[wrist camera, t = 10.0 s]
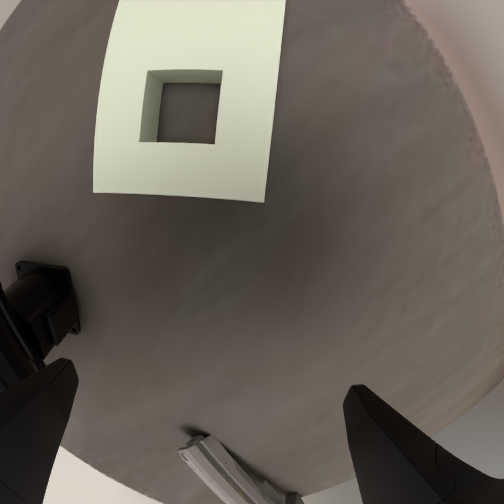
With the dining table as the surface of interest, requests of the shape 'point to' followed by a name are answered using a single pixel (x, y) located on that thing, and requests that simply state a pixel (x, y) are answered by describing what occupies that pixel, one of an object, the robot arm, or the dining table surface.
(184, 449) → the handgun
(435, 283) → the dining table surface
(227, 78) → the socket block
